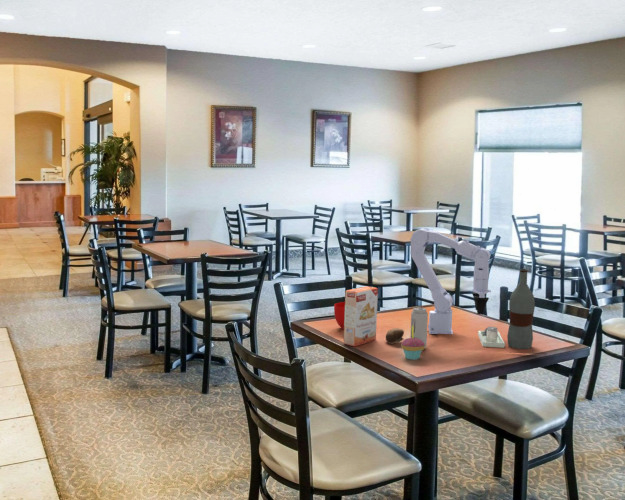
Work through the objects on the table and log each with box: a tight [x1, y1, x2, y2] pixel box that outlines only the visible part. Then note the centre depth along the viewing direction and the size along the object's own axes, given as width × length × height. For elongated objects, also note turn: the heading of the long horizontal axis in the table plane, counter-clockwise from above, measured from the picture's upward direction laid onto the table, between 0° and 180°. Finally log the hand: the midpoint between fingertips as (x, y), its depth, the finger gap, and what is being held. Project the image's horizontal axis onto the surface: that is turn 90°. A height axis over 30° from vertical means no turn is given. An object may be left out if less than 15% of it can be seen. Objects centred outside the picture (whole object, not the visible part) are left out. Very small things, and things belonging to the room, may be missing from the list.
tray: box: [477, 330, 506, 349], centre depth 253 cm, size 8×18×2 cm, turn 171°
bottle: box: [507, 268, 536, 350], centre depth 244 cm, size 9×9×30 cm
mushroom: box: [385, 327, 405, 345], centre depth 250 cm, size 8×8×6 cm
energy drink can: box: [409, 307, 429, 348], centre depth 242 cm, size 6×6×15 cm
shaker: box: [486, 326, 499, 342], centre depth 249 cm, size 4×4×6 cm
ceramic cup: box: [333, 301, 345, 331], centre depth 272 cm, size 13×17×10 cm
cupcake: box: [400, 323, 426, 361], centre depth 230 cm, size 9×8×12 cm
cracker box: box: [343, 285, 379, 347], centre depth 249 cm, size 14×6×21 cm, turn 139°
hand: (479, 312), depth 261 cm, fingers open, 7 cm apart
